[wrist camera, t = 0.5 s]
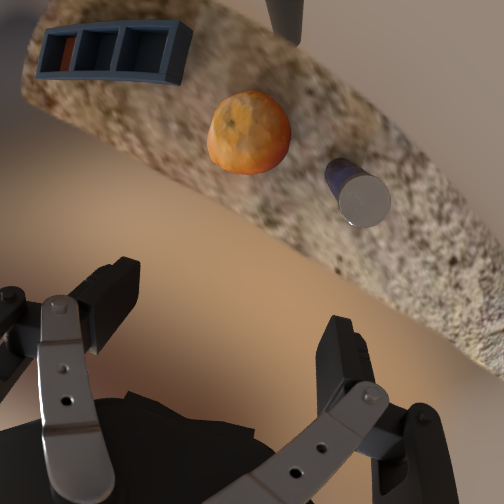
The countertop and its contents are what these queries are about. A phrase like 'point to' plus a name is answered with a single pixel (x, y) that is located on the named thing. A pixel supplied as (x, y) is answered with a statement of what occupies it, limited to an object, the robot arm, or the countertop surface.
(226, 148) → the fruit
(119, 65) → the rack
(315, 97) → the countertop surface
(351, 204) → the thermos
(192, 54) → the countertop surface
